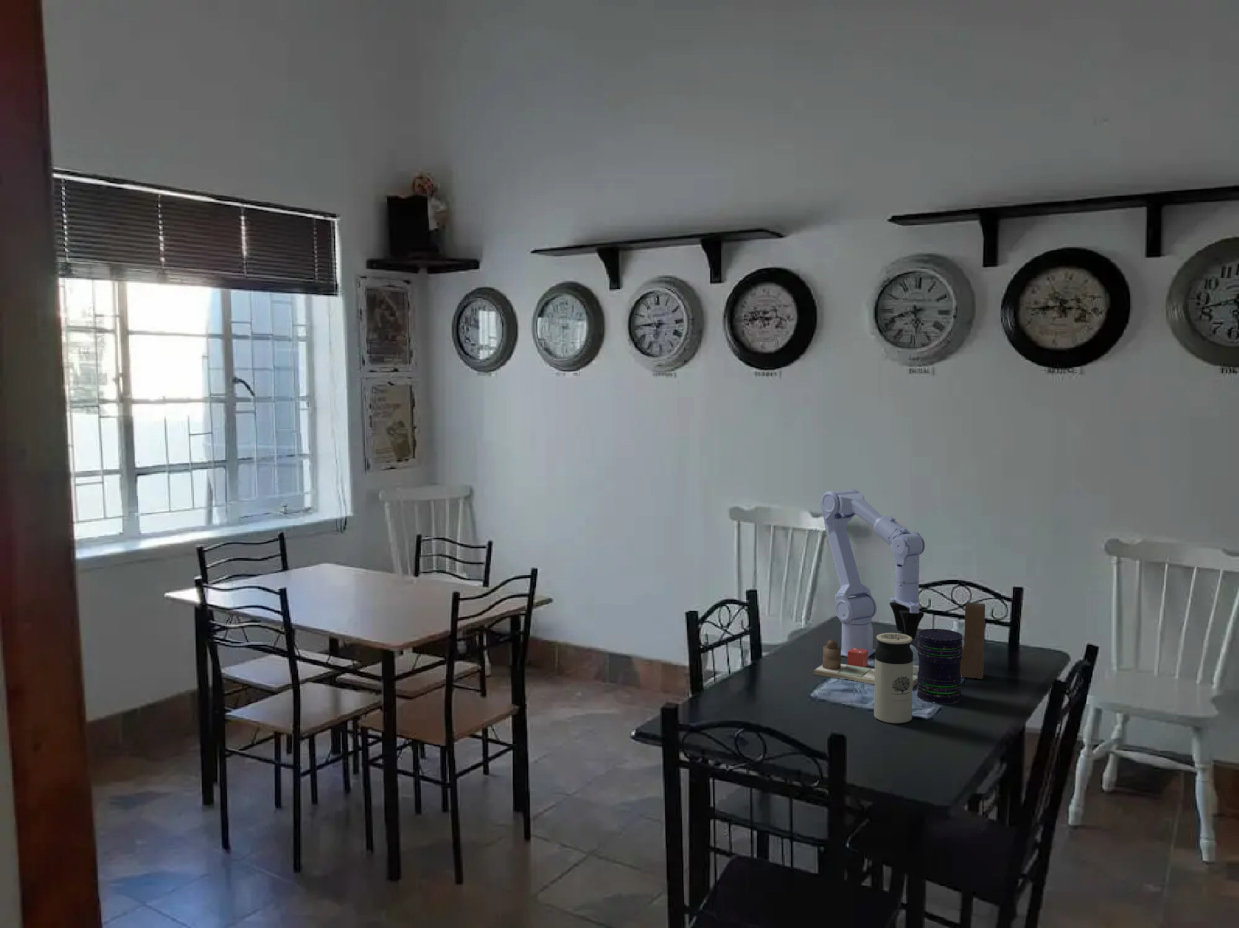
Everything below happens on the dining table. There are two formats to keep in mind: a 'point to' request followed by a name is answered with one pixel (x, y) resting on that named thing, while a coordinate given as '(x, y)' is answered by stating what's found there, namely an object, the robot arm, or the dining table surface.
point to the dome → (915, 655)
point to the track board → (852, 673)
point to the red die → (857, 657)
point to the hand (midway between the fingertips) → (905, 634)
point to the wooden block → (973, 641)
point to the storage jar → (939, 666)
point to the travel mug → (893, 678)
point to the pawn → (832, 655)
